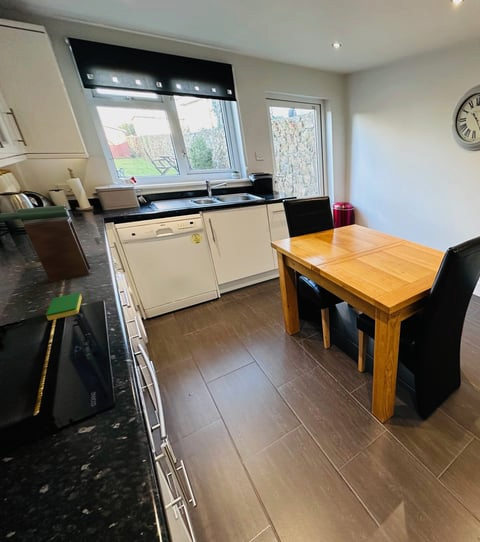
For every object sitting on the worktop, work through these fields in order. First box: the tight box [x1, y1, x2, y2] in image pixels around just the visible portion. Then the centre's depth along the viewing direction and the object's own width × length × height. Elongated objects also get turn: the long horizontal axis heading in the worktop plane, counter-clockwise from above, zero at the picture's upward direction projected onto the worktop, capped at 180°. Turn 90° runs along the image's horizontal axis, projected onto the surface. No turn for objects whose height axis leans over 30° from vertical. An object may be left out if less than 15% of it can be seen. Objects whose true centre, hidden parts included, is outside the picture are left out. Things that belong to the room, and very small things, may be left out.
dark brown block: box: [22, 216, 92, 283], centre depth 116 cm, size 12×10×25 cm
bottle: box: [0, 205, 71, 223], centre depth 108 cm, size 21×5×5 cm, turn 130°
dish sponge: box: [45, 292, 83, 321], centre depth 96 cm, size 7×14×2 cm, turn 38°
